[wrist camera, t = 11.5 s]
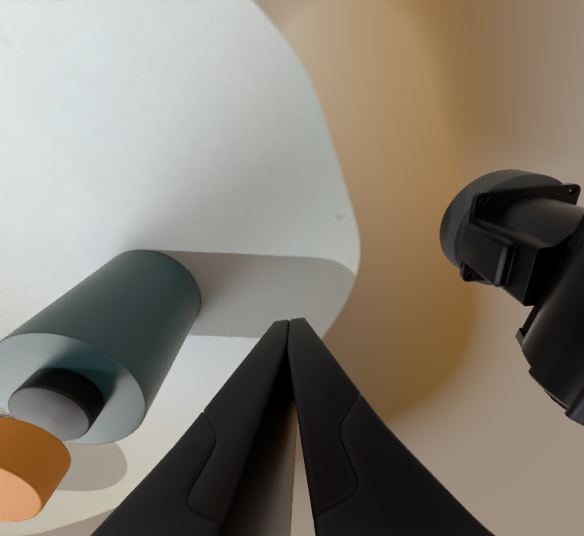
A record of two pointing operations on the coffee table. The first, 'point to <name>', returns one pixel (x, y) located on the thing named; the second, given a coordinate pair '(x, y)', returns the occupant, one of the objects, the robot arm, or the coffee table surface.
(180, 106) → the coffee table surface
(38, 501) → the orange short cylinder
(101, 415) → the bottle
